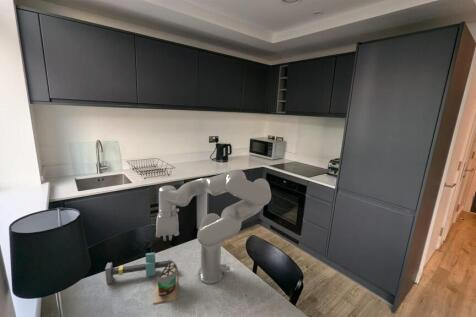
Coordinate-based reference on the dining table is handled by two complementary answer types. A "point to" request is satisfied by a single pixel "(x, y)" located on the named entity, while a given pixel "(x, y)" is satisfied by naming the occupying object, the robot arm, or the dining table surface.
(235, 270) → the dining table surface
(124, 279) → the dining table surface
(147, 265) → the sleeve
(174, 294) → the mat
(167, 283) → the food container
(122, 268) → the rail
